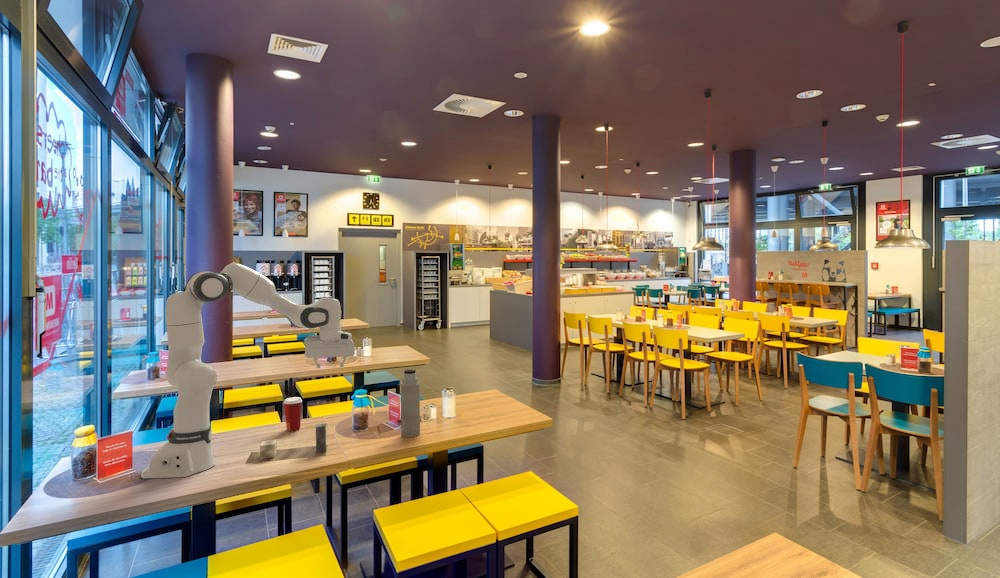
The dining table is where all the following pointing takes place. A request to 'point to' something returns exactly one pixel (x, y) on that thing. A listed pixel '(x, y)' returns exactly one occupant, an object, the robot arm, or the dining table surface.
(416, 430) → the thermos bottle
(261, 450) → the gray-green cube
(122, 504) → the dining table surface
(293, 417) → the paper cup
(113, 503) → the dining table surface
